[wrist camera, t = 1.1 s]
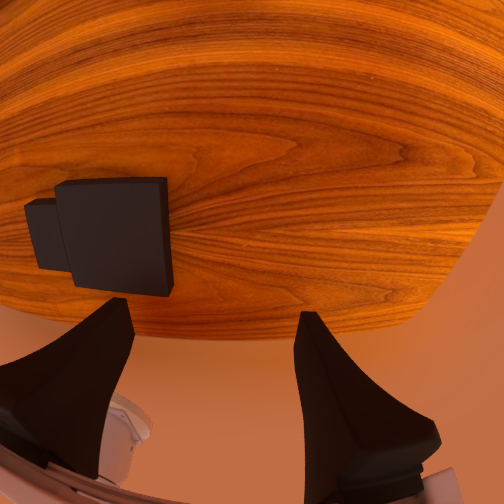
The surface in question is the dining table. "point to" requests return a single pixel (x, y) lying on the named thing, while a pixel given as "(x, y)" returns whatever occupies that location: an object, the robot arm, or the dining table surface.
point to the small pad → (106, 234)
